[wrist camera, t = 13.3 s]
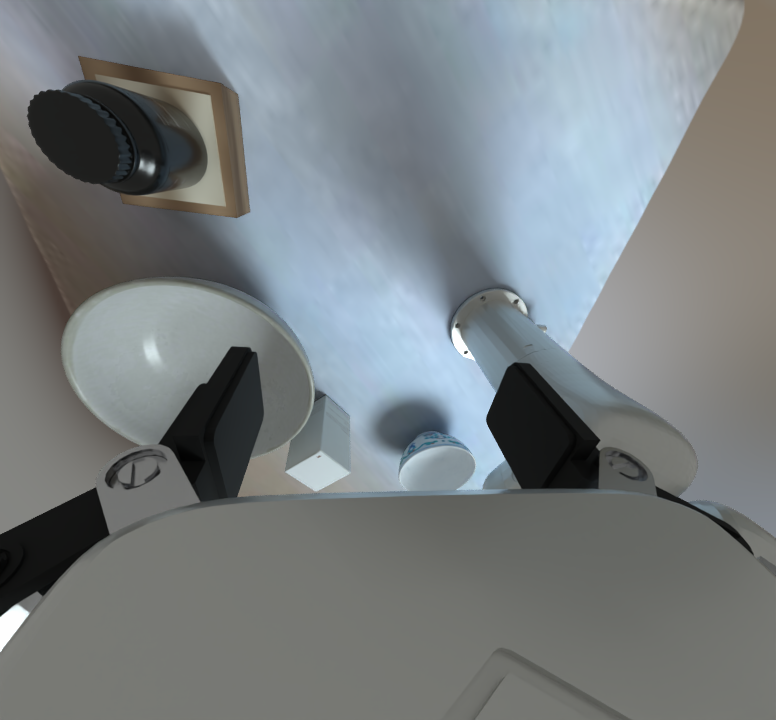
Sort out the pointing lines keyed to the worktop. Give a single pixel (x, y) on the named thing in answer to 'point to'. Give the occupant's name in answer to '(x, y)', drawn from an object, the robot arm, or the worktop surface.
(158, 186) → the supplement bottle
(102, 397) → the decorative bowl
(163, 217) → the worktop surface
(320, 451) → the supplement box
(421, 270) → the worktop surface
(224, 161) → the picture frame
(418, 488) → the chinaware
